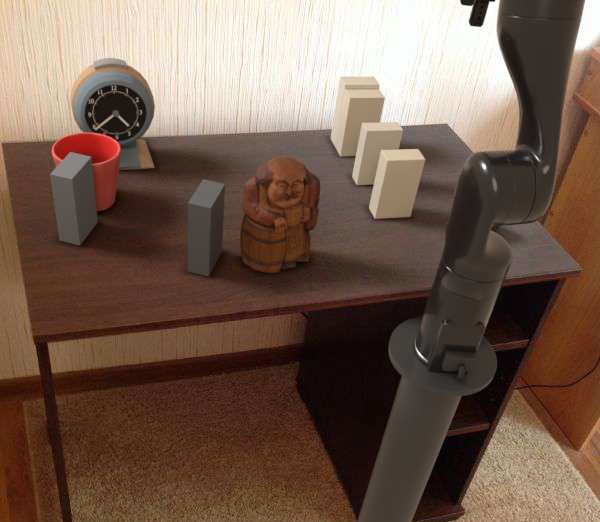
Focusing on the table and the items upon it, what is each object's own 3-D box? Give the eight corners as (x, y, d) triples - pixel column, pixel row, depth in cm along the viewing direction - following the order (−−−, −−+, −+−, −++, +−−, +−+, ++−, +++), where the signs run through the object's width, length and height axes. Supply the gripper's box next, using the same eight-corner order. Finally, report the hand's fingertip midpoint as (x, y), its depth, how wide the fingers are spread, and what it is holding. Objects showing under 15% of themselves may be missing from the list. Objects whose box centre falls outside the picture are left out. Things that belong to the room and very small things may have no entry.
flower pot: (52, 187, 130) (45, 134, 123) (115, 179, 134) (112, 128, 127) (65, 221, 124) (58, 168, 117) (131, 212, 128) (128, 160, 121)
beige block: (356, 185, 142) (367, 130, 134) (351, 176, 144) (361, 122, 136) (391, 183, 144) (403, 130, 136) (385, 175, 146) (397, 121, 138)
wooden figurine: (253, 279, 120) (261, 178, 106) (235, 256, 123) (242, 156, 110) (316, 263, 124) (332, 165, 111) (298, 242, 128) (311, 144, 115)
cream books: (410, 217, 137) (427, 152, 128) (374, 219, 135) (389, 154, 126) (362, 137, 155) (374, 76, 146) (330, 138, 153) (339, 76, 144)
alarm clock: (80, 172, 134) (69, 74, 122) (73, 144, 141) (62, 48, 128) (159, 167, 139) (157, 72, 126) (150, 140, 145) (147, 47, 132)
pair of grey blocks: (208, 276, 119) (211, 208, 110) (59, 240, 121) (49, 170, 111) (221, 251, 123) (225, 184, 114) (78, 217, 125) (69, 148, 116)
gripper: (468, -120, 113) (441, -4, 125) (485, -92, 103) (454, 30, 115) (516, -113, 114) (485, 1, 125) (538, -85, 104) (501, 35, 116)
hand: (470, 15), depth 120 cm, fingers open, 8 cm apart
